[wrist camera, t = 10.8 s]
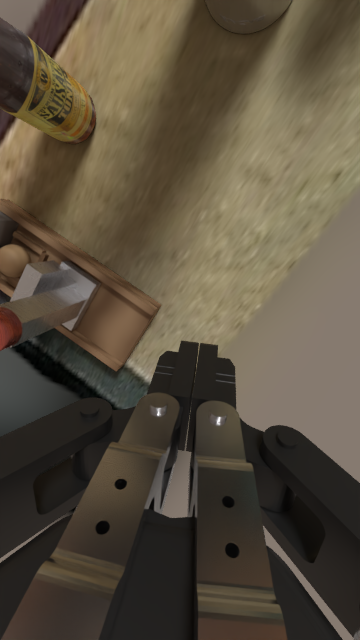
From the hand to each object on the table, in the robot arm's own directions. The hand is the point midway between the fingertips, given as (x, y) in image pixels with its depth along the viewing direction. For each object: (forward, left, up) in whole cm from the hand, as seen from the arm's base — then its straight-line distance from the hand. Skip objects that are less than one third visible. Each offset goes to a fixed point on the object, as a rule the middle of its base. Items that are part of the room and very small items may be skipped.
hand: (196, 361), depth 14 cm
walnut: (+2, -27, -26) cm, 38 cm away
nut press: (+4, -22, -28) cm, 35 cm away
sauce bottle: (-16, -22, -28) cm, 39 cm away
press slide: (+5, -20, -26) cm, 33 cm away
